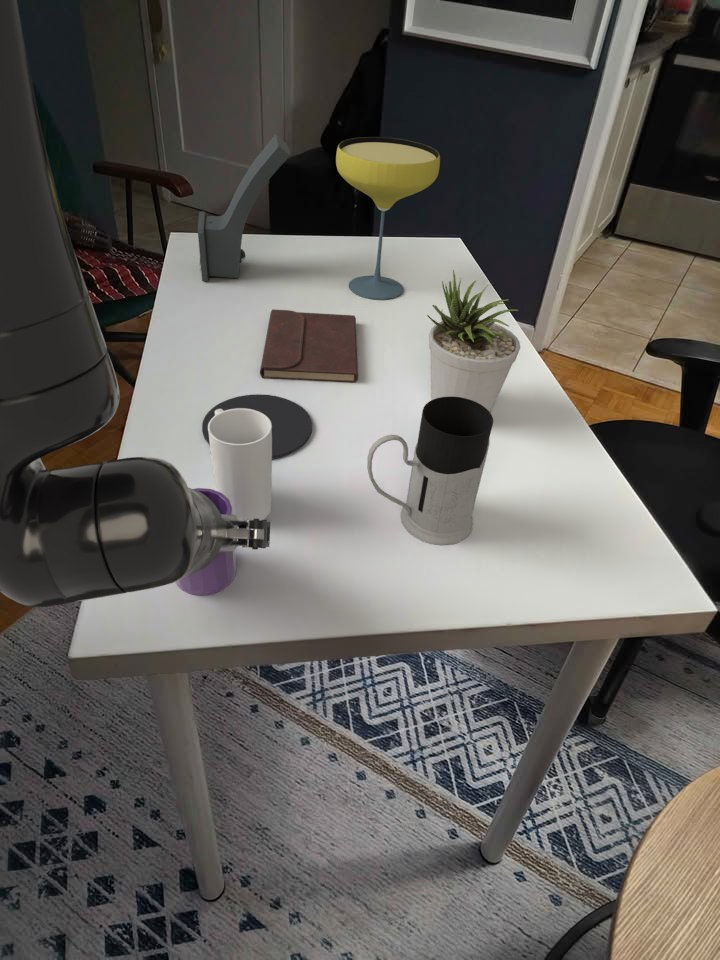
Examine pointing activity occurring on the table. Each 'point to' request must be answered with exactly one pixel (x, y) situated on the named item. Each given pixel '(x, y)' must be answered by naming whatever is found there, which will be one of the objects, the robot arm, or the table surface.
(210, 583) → the cup
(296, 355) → the notebook
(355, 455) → the table surface
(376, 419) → the table surface
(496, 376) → the potted plant
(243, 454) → the mug
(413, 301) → the table surface
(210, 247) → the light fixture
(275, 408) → the mat
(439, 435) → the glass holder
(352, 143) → the cocktail glass
